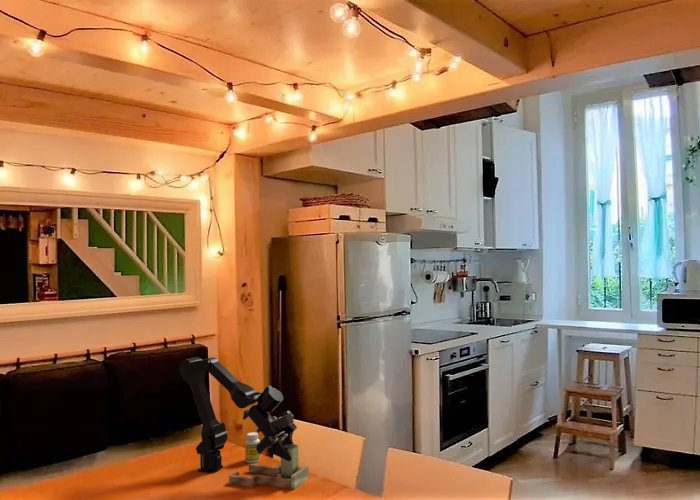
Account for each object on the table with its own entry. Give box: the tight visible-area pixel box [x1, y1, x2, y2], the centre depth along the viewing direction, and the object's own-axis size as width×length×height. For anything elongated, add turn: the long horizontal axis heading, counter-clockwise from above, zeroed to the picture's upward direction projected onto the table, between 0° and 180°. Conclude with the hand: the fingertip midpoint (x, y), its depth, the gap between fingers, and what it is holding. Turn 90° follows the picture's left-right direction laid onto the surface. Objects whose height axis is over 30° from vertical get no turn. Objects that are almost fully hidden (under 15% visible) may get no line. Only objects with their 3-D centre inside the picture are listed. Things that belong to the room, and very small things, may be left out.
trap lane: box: [228, 463, 309, 490], centre depth 191 cm, size 22×16×4 cm
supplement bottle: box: [244, 431, 261, 464], centre depth 210 cm, size 5×5×10 cm
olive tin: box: [280, 443, 299, 479], centre depth 189 cm, size 4×4×10 cm
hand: (293, 458), depth 188 cm, fingers closed on olive tin, 4 cm apart
